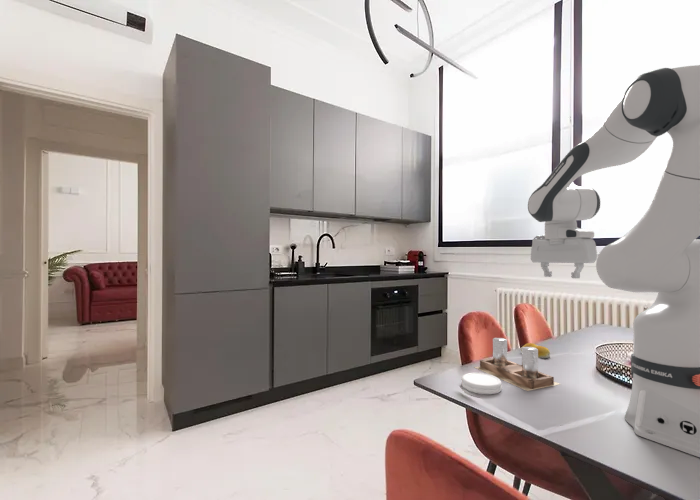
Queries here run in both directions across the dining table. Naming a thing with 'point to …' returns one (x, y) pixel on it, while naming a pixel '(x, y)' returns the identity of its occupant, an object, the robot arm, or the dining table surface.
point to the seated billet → (530, 362)
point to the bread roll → (539, 350)
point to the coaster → (481, 384)
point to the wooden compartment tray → (516, 375)
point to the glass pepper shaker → (500, 352)
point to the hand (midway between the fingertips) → (561, 277)
